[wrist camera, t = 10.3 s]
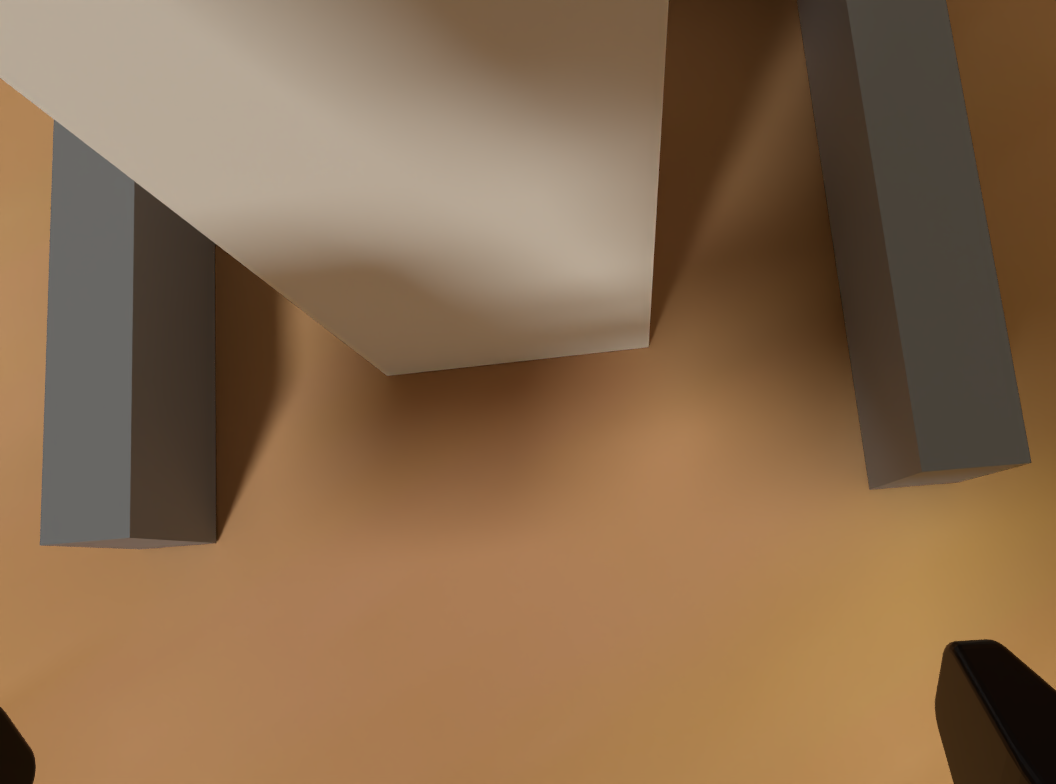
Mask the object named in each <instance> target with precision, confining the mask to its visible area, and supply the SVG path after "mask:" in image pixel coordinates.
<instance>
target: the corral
mask: <svg viewBox="0 0 1056 784" xmlns="http://www.w3.org/2000/svg"><path fill="white" fill-rule="evenodd" d="M797 4H798V11H799V18H800V24H801V31H802V38H803V45H804V51H805V58H806V65H807V71H808V78H809V85H810V92H811V98H812V105H813V112H814V119H815V125H816V132H817V139H818V146H819V152H820V159H821V166H822V173H823V179H824V186H825V193H826V200H827V206H828V213H829V220H830V227H831V233H832V240H833V247H834V253H835V260H836V267H837V274H838V280H839V287H840V294H841V301H842V307H843V314H844V321H845V328H846V334H847V341H848V348H849V355H850V361H851V368H852V375H853V381H854V388H855V395H856V402H857V408H858V415H859V422H860V429H861V435H862V442H863V449H864V456H865V462H866V469H867V476H868V483H869V489H870V490H871V489H883V488H895V487H908V486H920V485H932V484H944V483H956V482H961V481H965V480H969V479H973V478H976V477H980V476H984V475H988V474H992V473H995V472H999V471H1003V470H1007V469H1010V468H1014V467H1018V466H1022V465H1025V464H1029V463H1031V458H1030V453H1029V447H1028V442H1027V436H1026V431H1025V426H1024V420H1023V415H1022V409H1021V404H1020V398H1019V393H1018V388H1017V382H1016V377H1015V371H1014V366H1013V361H1012V355H1011V350H1010V344H1009V339H1008V334H1007V328H1006V323H1005V317H1004V312H1003V307H1002V301H1001V296H1000V290H999V285H998V279H997V274H996V269H995V263H994V258H993V252H992V247H991V242H990V236H989V231H988V225H987V220H986V215H985V209H984V204H983V198H982V193H981V188H980V182H979V177H978V171H977V166H976V160H975V155H974V150H973V144H972V139H971V133H970V128H969V123H968V117H967V112H966V106H965V101H964V96H963V90H962V85H961V79H960V74H959V69H958V63H957V58H956V52H955V47H954V41H953V36H952V31H951V25H950V20H949V14H948V9H947V4H946V0H797ZM210 543H216V410H215V243H214V242H213V241H211V240H210V239H209V238H208V237H206V236H205V235H204V234H202V233H201V232H200V231H198V230H197V229H196V228H195V227H193V226H192V225H191V224H189V223H188V222H187V221H185V220H184V219H183V218H182V217H180V216H179V215H178V214H176V213H175V212H174V211H172V210H171V209H170V208H169V207H167V206H166V205H165V204H163V203H162V202H161V201H159V200H158V199H157V198H156V197H154V196H153V195H152V194H150V193H149V192H148V191H147V190H145V189H144V188H143V187H141V186H140V185H139V184H137V183H136V182H135V181H134V180H132V179H131V178H130V177H128V176H127V175H126V174H124V173H123V172H122V171H121V170H119V169H118V168H117V167H115V166H114V165H113V164H111V163H110V162H109V161H108V160H106V159H105V158H104V157H102V156H101V155H100V154H98V153H97V152H96V151H95V150H93V149H92V148H91V147H89V146H88V145H87V144H86V143H84V142H83V141H82V140H80V139H79V138H78V137H76V136H75V135H74V134H73V133H71V132H70V131H69V130H67V129H66V128H65V127H63V126H62V125H61V124H60V123H58V122H57V121H56V120H54V132H53V162H52V193H51V224H50V254H49V285H48V315H47V346H46V376H45V407H44V438H43V468H42V499H41V529H40V545H43V546H70V547H96V548H123V549H149V548H162V547H174V546H186V545H198V544H210Z"/></svg>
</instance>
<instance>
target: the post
mask: <svg viewBox="0 0 1056 784" xmlns="http://www.w3.org/2000/svg"><path fill="white" fill-rule="evenodd" d="M668 6H669V0H0V78H1V79H2V80H4V81H5V82H6V83H8V84H9V85H10V86H12V87H13V88H14V89H15V90H17V91H18V92H19V93H21V94H22V95H23V96H24V97H26V98H27V99H28V100H30V101H31V102H32V103H34V104H35V105H36V106H37V107H39V108H40V109H41V110H43V111H44V112H45V113H47V114H48V115H49V116H50V117H52V118H53V119H54V120H56V121H57V122H58V123H60V124H61V125H62V126H63V127H65V128H66V129H67V130H69V131H70V132H71V133H73V134H74V135H75V136H76V137H78V138H79V139H80V140H82V141H83V142H84V143H86V144H87V145H88V146H89V147H91V148H92V149H93V150H95V151H96V152H97V153H98V154H100V155H101V156H102V157H104V158H105V159H106V160H108V161H109V162H110V163H111V164H113V165H114V166H115V167H117V168H118V169H119V170H121V171H122V172H123V173H124V174H126V175H127V176H128V177H130V178H131V179H132V180H134V181H135V182H136V183H137V184H139V185H140V186H141V187H143V188H144V189H145V190H147V191H148V192H149V193H150V194H152V195H153V196H154V197H156V198H157V199H158V200H159V201H161V202H162V203H163V204H165V205H166V206H167V207H169V208H170V209H171V210H172V211H174V212H175V213H176V214H178V215H179V216H180V217H182V218H183V219H184V220H185V221H187V222H188V223H189V224H191V225H192V226H193V227H195V228H196V229H197V230H198V231H200V232H201V233H202V234H204V235H205V236H206V237H208V238H209V239H210V240H211V241H213V242H214V243H215V244H217V245H218V246H219V247H220V248H222V249H223V250H224V251H226V252H227V253H228V254H230V255H231V256H232V257H233V258H235V259H236V260H237V261H239V262H240V263H241V264H243V265H244V266H245V267H246V268H248V269H249V270H250V271H252V272H253V273H254V274H256V275H257V276H258V277H259V278H261V279H262V280H263V281H265V282H266V283H267V284H269V285H270V286H271V287H272V288H274V289H275V290H276V291H278V292H279V293H280V294H281V295H283V296H284V297H285V298H287V299H288V300H289V301H291V302H292V303H293V304H294V305H296V306H297V307H298V308H300V309H301V310H302V311H304V312H305V313H306V314H307V315H309V316H310V317H311V318H313V319H314V320H315V321H317V322H318V323H319V324H320V325H322V326H323V327H324V328H326V329H327V330H328V331H330V332H331V333H332V334H333V335H335V336H336V337H337V338H339V339H340V340H341V341H343V342H344V343H345V344H346V345H348V346H349V347H350V348H352V349H353V350H354V351H355V352H357V353H358V354H359V355H361V356H362V357H363V358H365V359H366V360H367V361H368V362H370V363H371V364H372V365H374V366H375V367H376V368H378V369H379V370H380V371H381V372H383V373H384V374H385V375H387V376H391V375H400V374H409V373H418V372H427V371H436V370H446V369H455V368H464V367H473V366H482V365H491V364H500V363H509V362H518V361H528V360H537V359H546V358H555V357H564V356H573V355H582V354H591V353H601V352H610V351H619V350H628V349H637V348H646V347H649V332H650V315H651V298H652V281H653V264H654V246H655V229H656V212H657V195H658V178H659V161H660V144H661V126H662V109H663V92H664V75H665V58H666V41H667V24H668Z"/></svg>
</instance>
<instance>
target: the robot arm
mask: <svg viewBox="0 0 1056 784" xmlns="http://www.w3.org/2000/svg"><path fill="white" fill-rule="evenodd" d="M935 713H936V720H937V725H938V729H939V733H940V736H941V740H942V743H943V747H944V751H945V754H946V758H947V761H948V765H949V768H950V772H951V775H952V779H953V782H954V784H1056V690H1055V689H1053V688H1052V687H1051V686H1050V685H1049V684H1048V683H1047V682H1045V681H1044V680H1043V679H1042V678H1041V677H1040V676H1038V675H1037V674H1036V673H1035V672H1034V671H1033V670H1031V669H1030V668H1029V667H1028V666H1027V665H1026V664H1024V663H1023V662H1022V661H1021V660H1020V659H1019V658H1018V657H1016V656H1015V655H1014V654H1013V653H1012V652H1011V651H1009V650H1008V649H1007V648H1006V647H1005V646H1003V645H1002V644H1000V643H998V642H996V641H994V640H987V639H984V640H969V641H954V642H951V643H949V644H948V645H947V646H946V647H945V649H944V652H943V657H942V663H941V669H940V674H939V680H938V686H937V692H936V698H935ZM35 768H36V765H35V757H34V753H33V751H32V749H31V748H30V747H29V745H28V744H27V742H26V741H25V739H24V738H23V737H22V735H21V734H20V732H19V731H18V729H17V728H16V727H15V725H14V724H13V722H12V721H11V719H10V718H9V717H8V715H7V714H6V712H5V711H4V710H3V709H2V708H1V707H0V784H33V781H34V777H35Z"/></svg>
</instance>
